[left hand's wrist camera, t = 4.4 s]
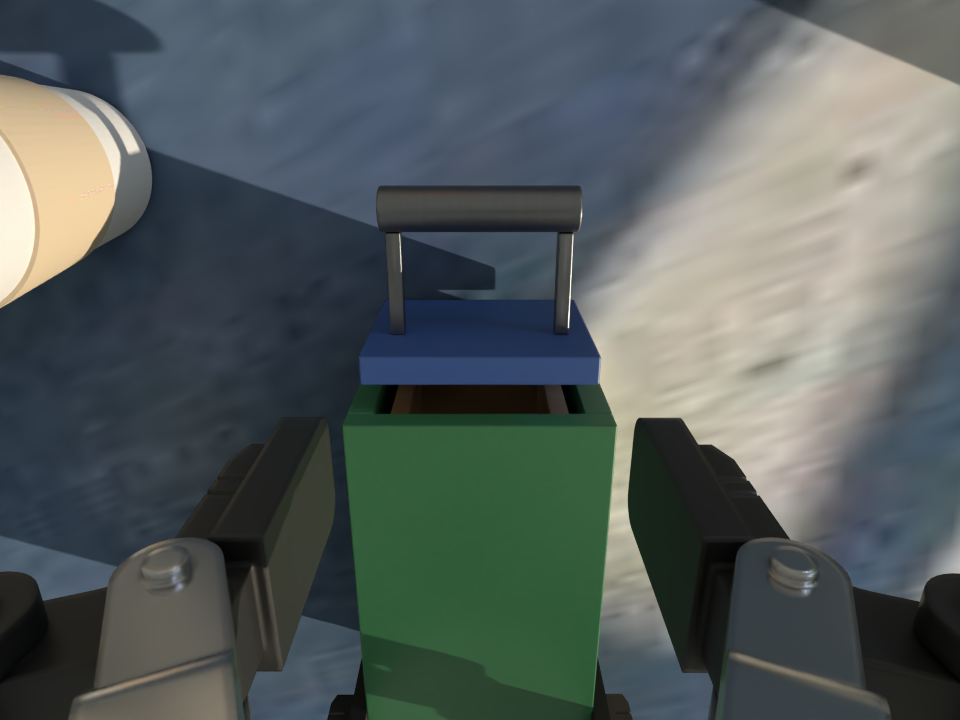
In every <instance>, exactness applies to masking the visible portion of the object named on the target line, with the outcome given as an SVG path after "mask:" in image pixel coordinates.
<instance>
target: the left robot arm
mask: <svg viewBox="0 0 960 720" xmlns="http://www.w3.org/2000/svg"><path fill="white" fill-rule="evenodd" d="M628 511H629V519H630V524H631V528H632V531H633V534H634V537H635V540H636V542H637V545H638V548H639V551H640V554H641V557H642V559H643V562H644V565H645V568H646V571H647V574H648V576H649V579H650V582H651V585H652V588H653V591H654V593H655V596H656V599H657V602H658V605H659V608H660V610H661V613H662V616H663V619H664V622H665V625H666V627H667V630H668V633H669V636H670V639H671V642H672V644H673V647H674V650H675V653H676V656H677V659H678V661H679V664H680V667H681V670H682V673H709V676H710V678H711V681H712V683H713V690H712V696H711V701H710V707H709V715H708V720H960V574H954V573H952V574H942V575H938V576H935V577H933V578H931V579H930V580H929V581H928V582H927V583H926V585H925V587H924V590H923V594H922V597H921V600H920V602H918V601H913V600H909V599H904V598H899V597H895V596H890V595H885V594H880V593H876V592H871V591H867V590H863V589H859V588H856V587H853V586H852V583H851V579H850V577H849V575H848V574H847V572H846V571H845V570H844V568H843V567H842V566H841V565H840V564H839V563H838V562H837V561H836V560H834V559H833V558H831V557H830V556H829V555H827V554H825V553H824V552H822V551H820V550H818V549H816V548H814V547H812V546H809V545H807V544H804V543H801V542H798V541H794V540H790V539H789V537H788V536H787V534H786V533H785V531H784V530H783V529H782V527H781V526H780V524H779V523H778V521H777V520H776V519H775V517H774V516H773V514H772V513H771V512H770V510H769V509H768V507H767V506H766V504H765V503H764V502H763V500H762V499H761V497H760V496H757V492H756V490H755V489H754V487H753V486H752V485H751V483H750V482H749V481H747V480H746V476H745V475H744V473H743V472H742V470H741V469H740V468H739V466H738V465H737V463H736V462H735V460H734V459H732V458H731V457H729V456H728V455H726V454H725V453H723V452H722V451H720V450H719V449H717V448H716V447H714V446H713V445H698V444H697V442H696V440H695V439H694V437H693V436H692V434H691V432H690V431H689V429H688V428H687V426H686V425H685V423H684V421H683V420H682V419H681V418H638V420H637V421H636V425H635V429H634V439H633V449H632V459H631V469H630V479H629V490H628ZM334 513H335V486H334V476H333V466H332V455H331V445H330V434H329V427H328V422H327V420H326V418H325V417H283V418H282V419H281V420H280V422H279V423H278V425H277V427H276V428H275V430H274V431H273V433H272V435H271V436H270V438H269V439H268V441H267V443H266V444H251V445H250V446H248V447H247V448H245V449H244V450H242V451H241V452H240V453H238V454H237V455H235V456H234V457H232V458H231V459H230V460H229V461H228V462H227V464H226V465H225V467H224V468H223V470H222V471H221V472H220V474H219V475H218V480H215V481H214V483H213V484H212V485H211V487H210V488H209V490H208V494H207V495H205V496H204V497H203V498H202V500H201V501H200V503H199V504H198V506H197V507H196V508H195V510H194V511H193V513H192V514H191V516H190V517H189V519H188V520H187V521H186V523H185V524H184V526H183V527H182V529H181V530H180V532H179V533H178V534H177V536H176V537H175V539H171V540H166V541H162V542H159V543H156V544H153V545H151V546H148V547H146V548H144V549H142V550H140V551H138V552H136V553H135V554H133V555H131V556H130V557H129V558H127V559H126V560H124V561H123V562H122V563H121V564H120V565H119V566H118V567H117V568H116V570H115V571H114V572H113V574H112V575H111V577H110V579H109V583H108V587H105V588H101V589H97V590H93V591H88V592H84V593H79V594H74V595H69V596H65V597H60V598H55V599H50V600H46V601H43V600H42V597H41V593H40V590H39V587H38V584H37V582H36V580H35V579H34V578H32V577H31V576H29V575H27V574H24V573H20V572H0V720H252V715H251V707H250V702H249V696H248V692H249V689H250V687H251V684H252V682H253V679H254V677H255V674H256V671H282V670H283V667H284V664H285V661H286V658H287V655H288V653H289V650H290V647H291V644H292V641H293V638H294V635H295V632H296V629H297V627H298V624H299V621H300V618H301V615H302V612H303V609H304V606H305V603H306V601H307V598H308V595H309V592H310V589H311V586H312V583H313V580H314V577H315V575H316V572H317V569H318V566H319V563H320V560H321V557H322V554H323V551H324V549H325V546H326V543H327V540H328V537H329V534H330V531H331V528H332V525H333V520H334Z"/></svg>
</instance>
